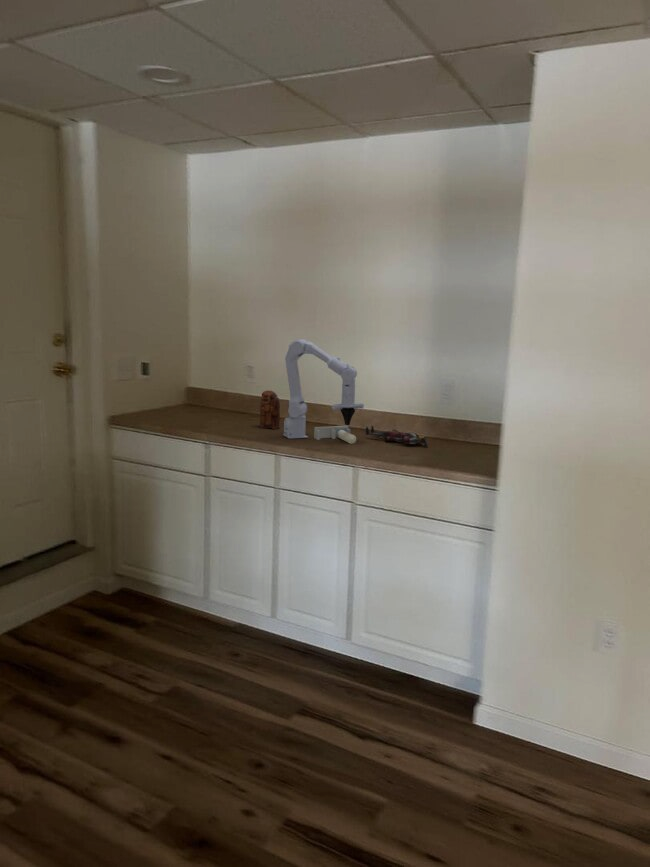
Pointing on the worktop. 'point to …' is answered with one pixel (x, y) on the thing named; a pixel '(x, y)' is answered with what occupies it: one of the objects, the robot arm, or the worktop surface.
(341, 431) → the tall cream cylinder
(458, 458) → the worktop surface
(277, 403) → the wooden figurine
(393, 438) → the figurine
